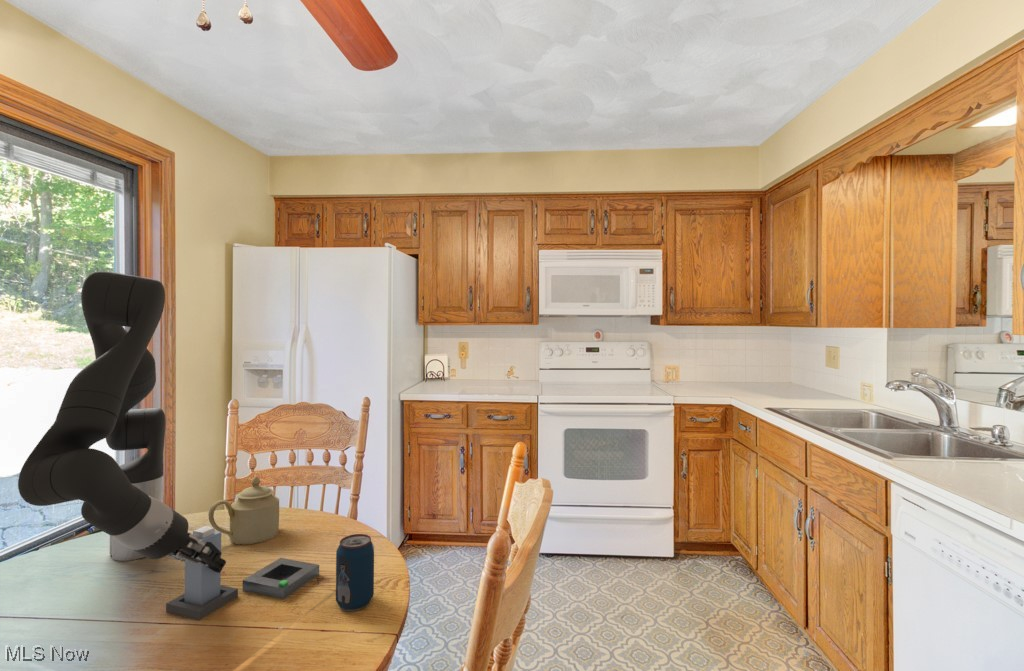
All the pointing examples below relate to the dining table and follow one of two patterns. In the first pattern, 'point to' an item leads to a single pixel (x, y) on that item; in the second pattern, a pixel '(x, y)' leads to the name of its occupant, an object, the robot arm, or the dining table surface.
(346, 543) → the soda can
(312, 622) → the dining table surface
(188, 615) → the holster
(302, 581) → the port
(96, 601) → the dining table surface
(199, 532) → the plug
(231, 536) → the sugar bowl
